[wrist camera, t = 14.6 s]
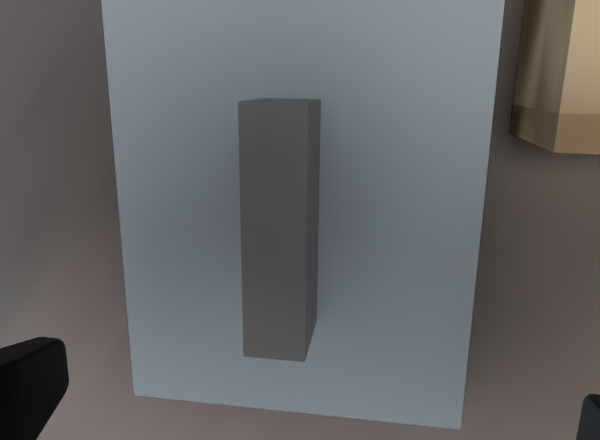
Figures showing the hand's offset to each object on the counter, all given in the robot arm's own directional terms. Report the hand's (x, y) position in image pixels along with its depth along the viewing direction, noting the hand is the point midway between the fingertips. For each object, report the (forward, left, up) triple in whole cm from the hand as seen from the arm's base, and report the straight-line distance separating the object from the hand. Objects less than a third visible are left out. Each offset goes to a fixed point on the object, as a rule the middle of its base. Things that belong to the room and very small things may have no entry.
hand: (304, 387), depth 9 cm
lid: (0, +2, -12) cm, 12 cm away
